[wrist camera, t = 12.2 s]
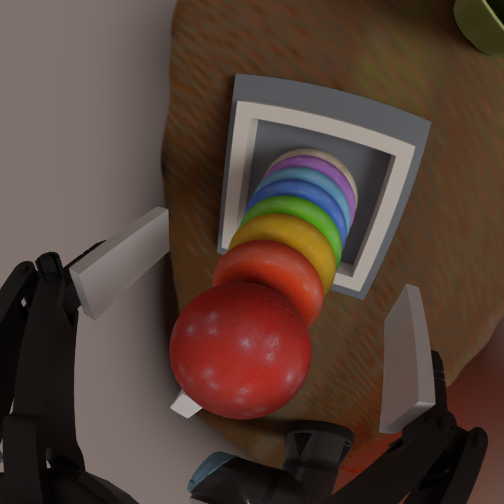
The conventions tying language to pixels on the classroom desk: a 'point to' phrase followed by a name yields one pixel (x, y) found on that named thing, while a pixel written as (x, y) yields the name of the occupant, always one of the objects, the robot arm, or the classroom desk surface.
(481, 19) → the plant pot
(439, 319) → the classroom desk surface
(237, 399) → the stacking toy
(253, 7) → the classroom desk surface
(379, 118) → the board
